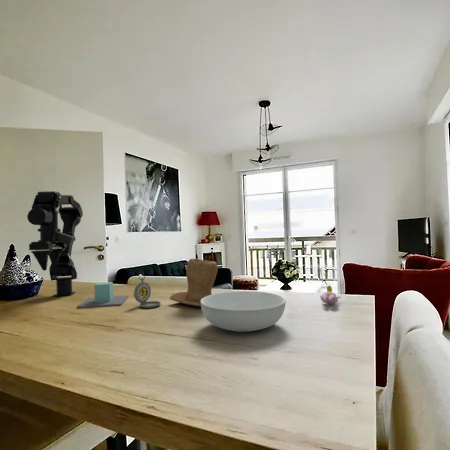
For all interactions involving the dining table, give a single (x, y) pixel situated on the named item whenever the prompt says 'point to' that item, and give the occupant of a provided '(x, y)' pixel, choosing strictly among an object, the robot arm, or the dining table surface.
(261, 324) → the serving bowl
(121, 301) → the charcoal mat
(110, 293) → the teal block
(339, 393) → the dining table surface
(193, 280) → the tan curved piece
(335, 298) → the stuffed toy
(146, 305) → the pocket watch
